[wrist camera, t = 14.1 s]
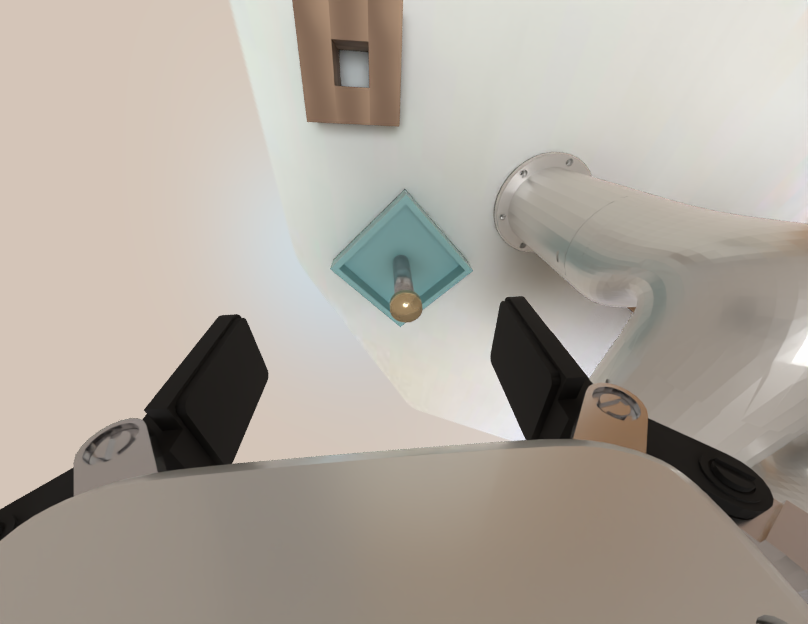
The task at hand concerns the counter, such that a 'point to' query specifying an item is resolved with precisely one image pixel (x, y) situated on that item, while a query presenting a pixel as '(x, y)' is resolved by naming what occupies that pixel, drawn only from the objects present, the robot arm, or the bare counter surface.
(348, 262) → the tray
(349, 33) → the block
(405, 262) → the lock pin
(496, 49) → the counter surface
